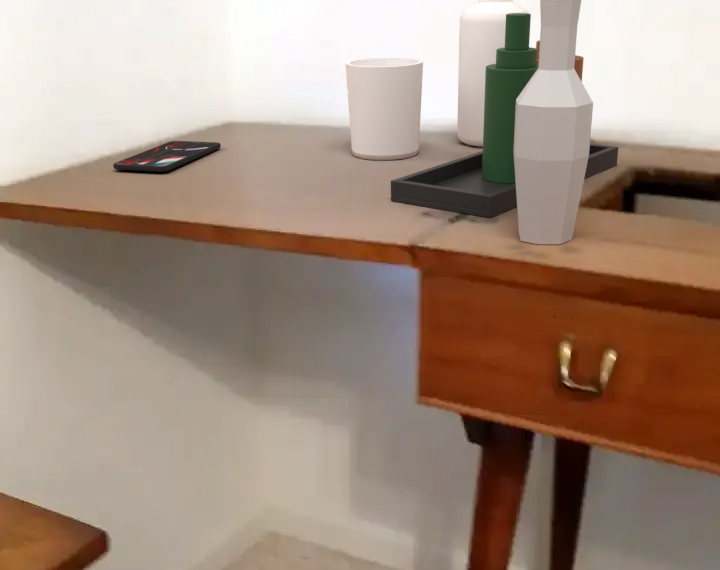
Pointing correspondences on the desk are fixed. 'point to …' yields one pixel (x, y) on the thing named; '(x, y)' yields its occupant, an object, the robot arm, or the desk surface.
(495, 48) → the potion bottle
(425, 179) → the tray
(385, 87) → the mug
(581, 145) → the low poly bottle
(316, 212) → the desk surface
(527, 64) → the green bottle
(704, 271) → the desk surface
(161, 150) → the smartphone
